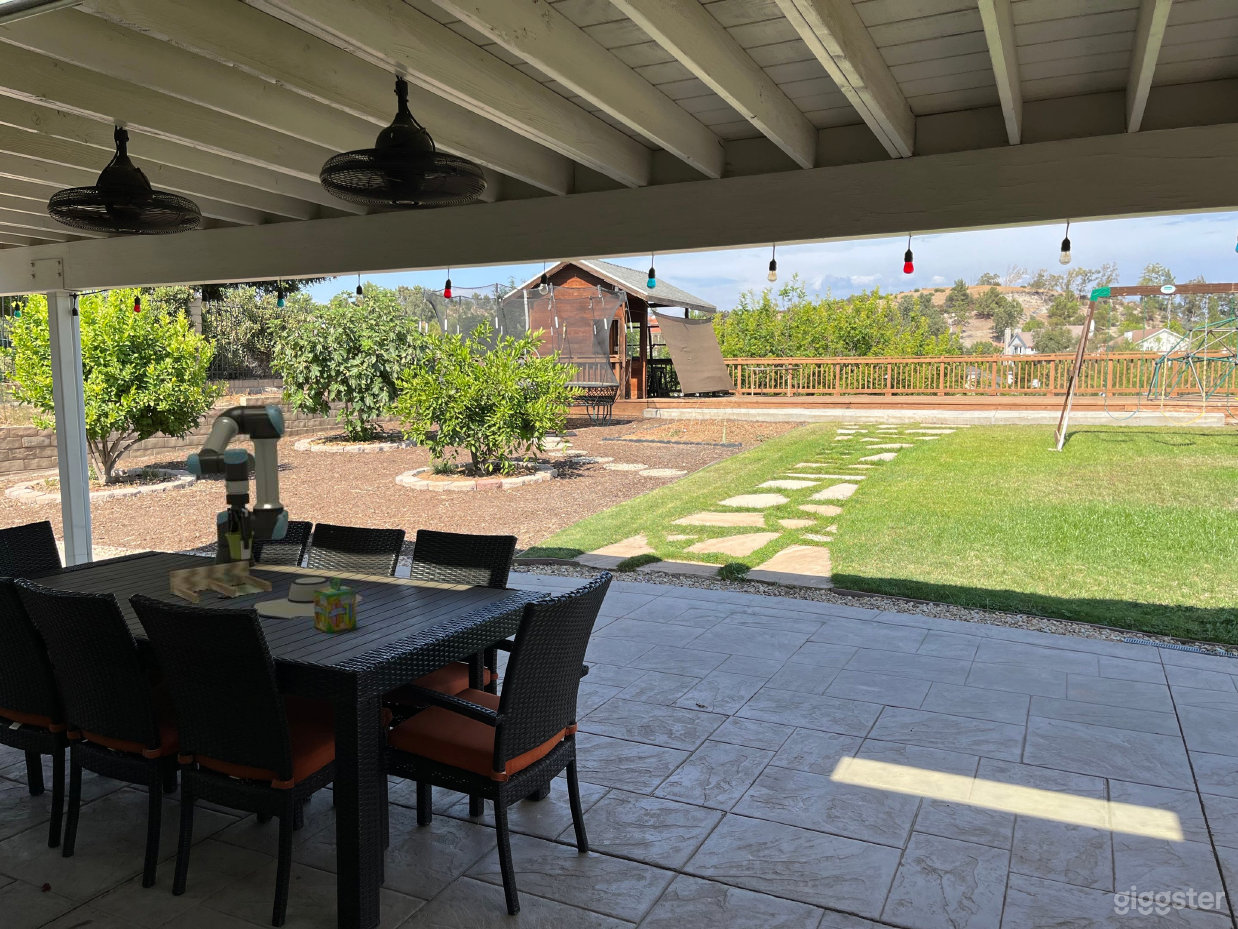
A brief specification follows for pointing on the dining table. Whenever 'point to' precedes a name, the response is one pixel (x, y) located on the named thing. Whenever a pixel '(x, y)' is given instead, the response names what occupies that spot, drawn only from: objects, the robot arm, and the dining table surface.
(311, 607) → the sun hat
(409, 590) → the dining table surface
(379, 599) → the dining table surface
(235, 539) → the plant pot
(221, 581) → the notch rack
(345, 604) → the chalk box
